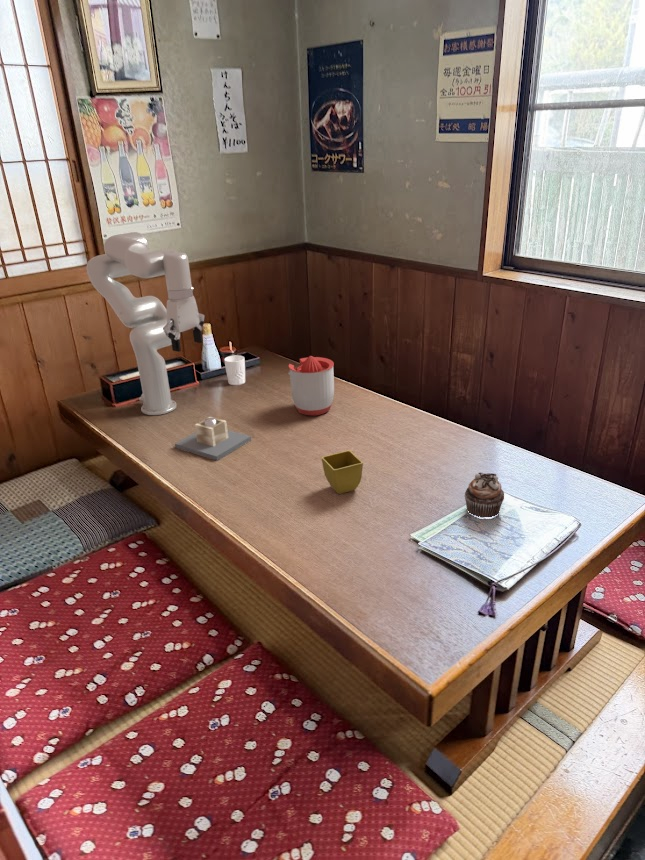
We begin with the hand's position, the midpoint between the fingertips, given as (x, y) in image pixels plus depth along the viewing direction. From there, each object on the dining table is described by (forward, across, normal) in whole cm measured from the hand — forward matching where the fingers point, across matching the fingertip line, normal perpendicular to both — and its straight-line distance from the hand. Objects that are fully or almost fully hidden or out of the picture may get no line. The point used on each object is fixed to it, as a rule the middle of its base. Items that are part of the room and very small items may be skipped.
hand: (187, 346), depth 204 cm
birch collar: (+27, +8, +14) cm, 31 cm away
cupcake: (+28, +3, +102) cm, 106 cm away
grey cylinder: (+27, +8, +14) cm, 31 cm away
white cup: (+28, -38, -16) cm, 50 cm away
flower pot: (+28, +11, +65) cm, 72 cm away
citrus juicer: (+28, -30, +26) cm, 49 cm away
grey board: (+28, +8, +14) cm, 33 cm away
